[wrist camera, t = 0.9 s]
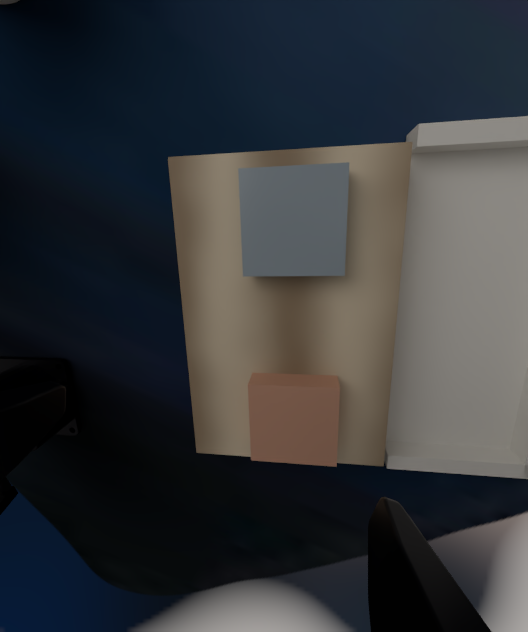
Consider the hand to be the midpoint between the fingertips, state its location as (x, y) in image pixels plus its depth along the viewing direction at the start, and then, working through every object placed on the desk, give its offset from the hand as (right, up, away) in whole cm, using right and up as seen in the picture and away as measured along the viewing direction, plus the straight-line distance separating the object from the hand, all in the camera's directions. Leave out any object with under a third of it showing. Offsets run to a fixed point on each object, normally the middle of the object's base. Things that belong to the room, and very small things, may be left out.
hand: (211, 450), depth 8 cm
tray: (+14, +4, +11) cm, 18 cm away
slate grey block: (+3, +8, +8) cm, 12 cm away
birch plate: (+3, +4, +12) cm, 13 cm away
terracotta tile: (+3, -2, +11) cm, 11 cm away
